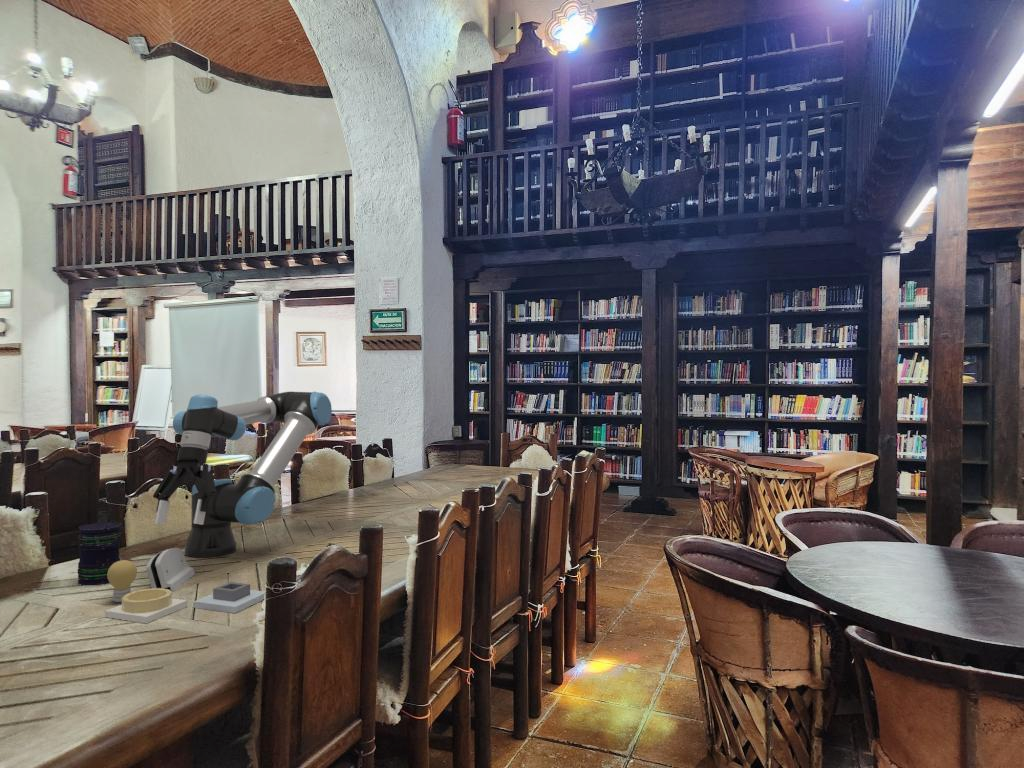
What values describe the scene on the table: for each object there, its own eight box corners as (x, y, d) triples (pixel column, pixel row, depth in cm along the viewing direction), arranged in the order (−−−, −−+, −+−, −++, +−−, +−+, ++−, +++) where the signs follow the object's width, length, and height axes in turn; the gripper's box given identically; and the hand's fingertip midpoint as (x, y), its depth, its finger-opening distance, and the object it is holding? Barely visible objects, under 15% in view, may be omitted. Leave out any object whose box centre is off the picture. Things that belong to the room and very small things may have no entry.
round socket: (147, 601, 161) (148, 585, 161) (187, 606, 157) (187, 590, 157) (104, 617, 149) (105, 600, 149) (146, 623, 146) (146, 605, 146)
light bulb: (105, 606, 156) (106, 565, 156) (107, 598, 162) (108, 558, 162) (135, 603, 159) (136, 562, 159) (137, 595, 165) (138, 556, 165)
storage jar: (69, 582, 174) (70, 527, 174) (105, 573, 183) (106, 520, 183) (92, 588, 170) (93, 531, 170) (128, 578, 179) (129, 524, 179)
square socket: (228, 592, 168) (228, 577, 168) (267, 597, 165) (268, 582, 165) (193, 607, 157) (194, 591, 157) (235, 613, 153) (235, 596, 153)
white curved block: (172, 591, 168) (159, 555, 168) (154, 598, 168) (141, 562, 167) (195, 573, 185) (184, 540, 184) (179, 579, 184) (167, 546, 184)
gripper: (149, 447, 185) (132, 522, 178) (219, 443, 177) (204, 522, 170) (170, 453, 191) (155, 526, 184) (238, 449, 183) (225, 525, 176)
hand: (178, 524), depth 177 cm, fingers open, 13 cm apart
